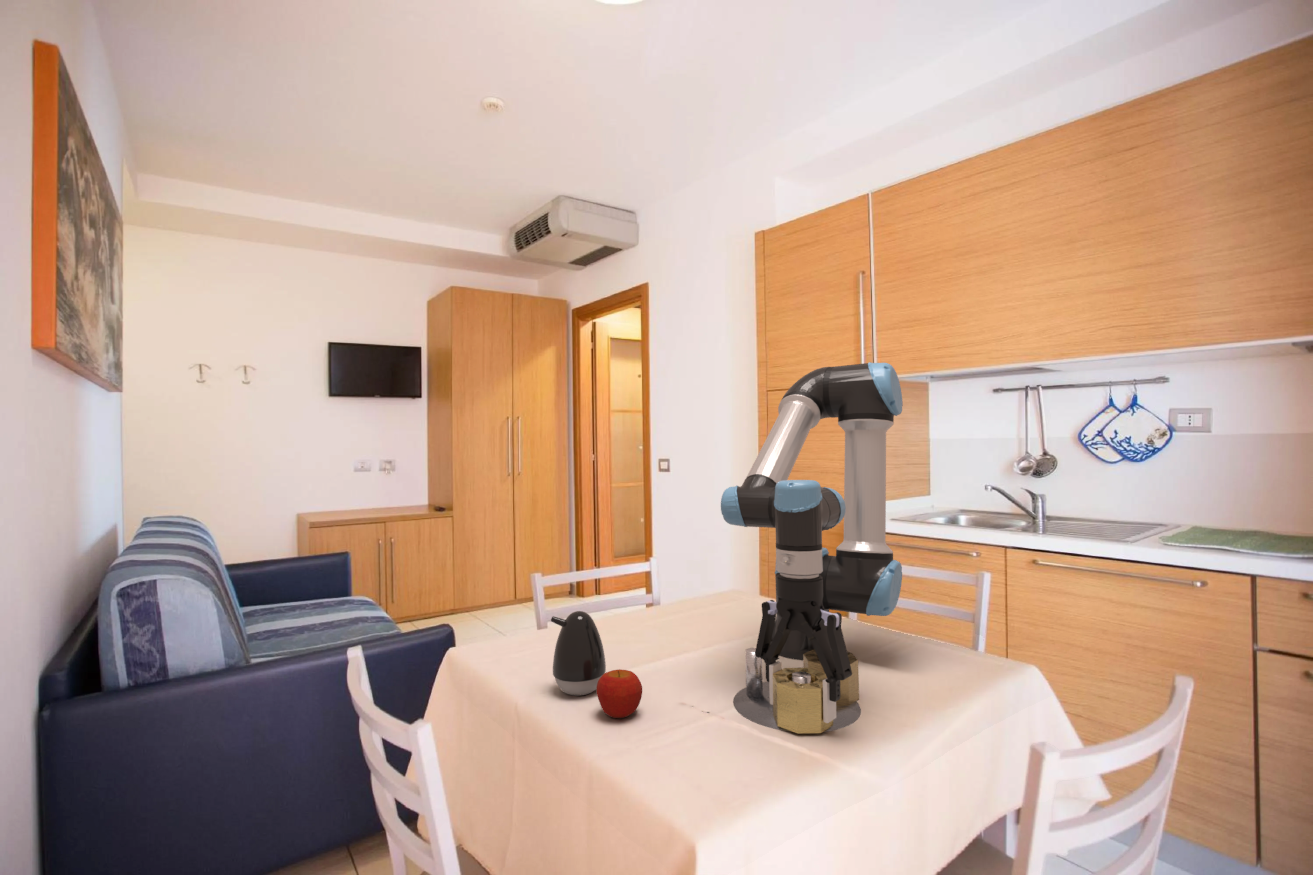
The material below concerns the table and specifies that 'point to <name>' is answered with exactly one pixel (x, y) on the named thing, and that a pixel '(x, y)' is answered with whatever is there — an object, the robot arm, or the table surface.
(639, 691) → the apple
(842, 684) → the seated gear
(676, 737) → the table surface
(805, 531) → the robot arm
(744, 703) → the carrier
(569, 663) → the pump dispenser
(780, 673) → the gear
